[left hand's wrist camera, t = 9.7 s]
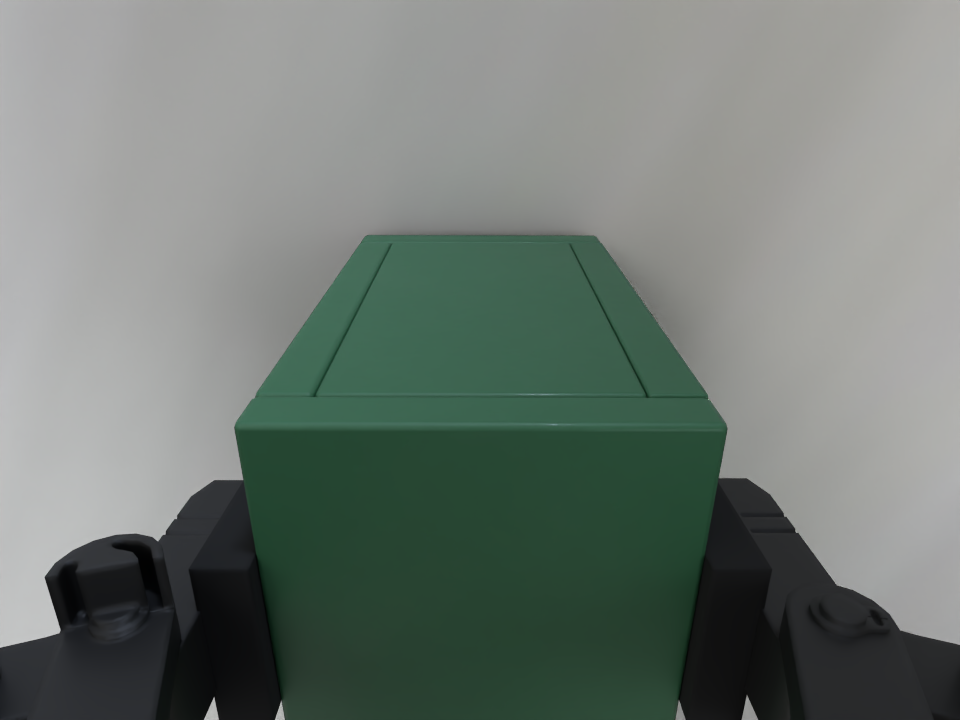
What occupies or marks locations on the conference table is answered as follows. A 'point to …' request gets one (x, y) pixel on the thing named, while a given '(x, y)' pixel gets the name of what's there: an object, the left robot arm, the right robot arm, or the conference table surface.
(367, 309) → the cabinet
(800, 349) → the conference table surface
